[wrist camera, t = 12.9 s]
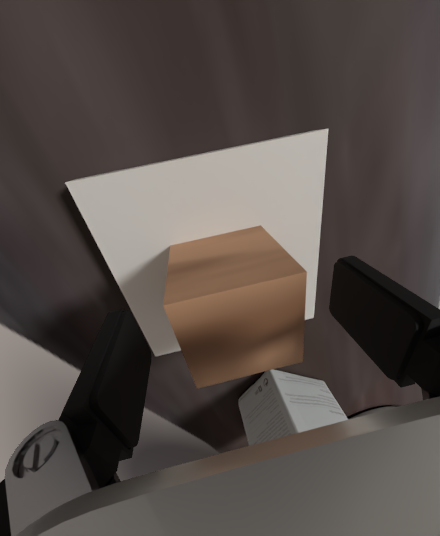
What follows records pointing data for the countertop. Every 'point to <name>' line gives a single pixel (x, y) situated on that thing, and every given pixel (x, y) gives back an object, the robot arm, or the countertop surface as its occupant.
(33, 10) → the countertop surface
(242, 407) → the skincare box
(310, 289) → the chopping board
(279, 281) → the wooden cube
